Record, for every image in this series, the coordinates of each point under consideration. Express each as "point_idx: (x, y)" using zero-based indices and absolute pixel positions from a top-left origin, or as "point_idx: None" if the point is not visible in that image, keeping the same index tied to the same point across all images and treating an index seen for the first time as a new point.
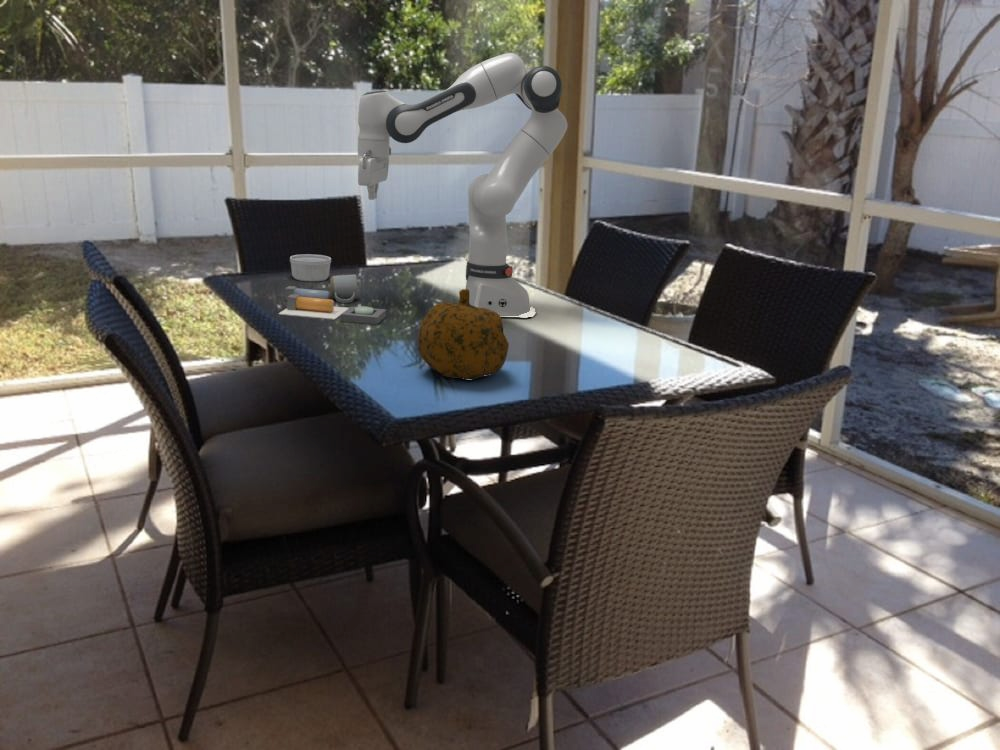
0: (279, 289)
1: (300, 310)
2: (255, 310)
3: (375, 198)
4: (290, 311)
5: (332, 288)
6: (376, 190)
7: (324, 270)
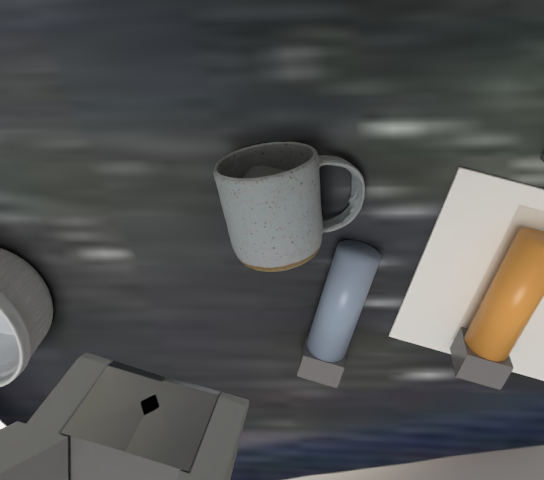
0: (191, 370)
1: None
2: (486, 429)
3: (160, 377)
4: (521, 351)
5: (318, 249)
6: (16, 472)
7: (1, 271)
